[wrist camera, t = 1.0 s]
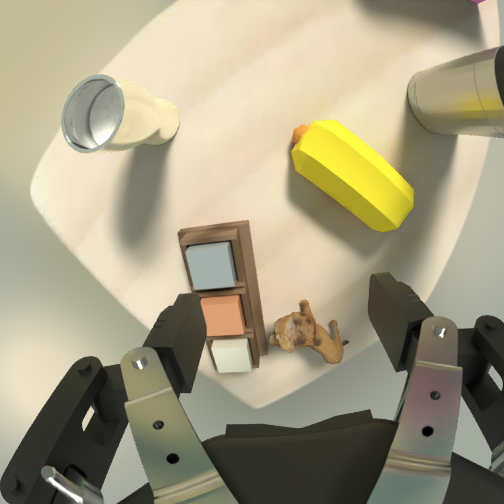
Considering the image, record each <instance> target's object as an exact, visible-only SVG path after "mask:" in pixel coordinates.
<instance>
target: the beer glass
mask: <svg viewBox="0 0 504 504" xmlns="http://www.w3.org/2000/svg"><path fill="white" fill-rule="evenodd" d="M61 122H62V131H63V135H64V137H65V140H66V141H67V143H68V144H69V145H70V146H71V147H72V148H73V149H74V150H76V151H78V152H81V153H112V152H120V151H125V150H128V149H131V148H134V147H136V146H139V145H141V144H143V143H147V144H150V145H160V144H163V143H165V142H167V141H169V140H170V139H171V138H172V137H173V136H174V135H175V133H176V132H177V130H178V127H179V123H180V116H179V112H178V110H177V108H176V107H175V105H174V104H173V103H171V102H170V101H168V100H165V99H155V98H154V97H153V96H152V95H151V94H150V93H149V92H148V91H147V90H146V89H144V88H143V87H141V86H140V85H138V84H136V83H133V82H131V81H128V80H124V79H120V78H116V77H110V76H107V75H94V76H91V77H88V78H86V79H84V80H83V81H82V82H80V83H79V84H78V85H77V86H76V87H75V88H74V89H73V90H72V92H71V93H70V95H69V96H68V98H67V100H66V102H65V105H64V108H63V112H62V121H61Z"/></svg>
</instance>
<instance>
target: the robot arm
mask: <svg viewBox="0 0 504 504" xmlns="http://www.w3.org/2000/svg"><path fill="white" fill-rule="evenodd" d="M408 99H409V103H410V107H411V109H412V112H413V114H414V115H415V117H416V119H417V120H418V121H419V122H420V124H421V125H423V126H424V127H425V128H426V129H428V130H429V131H431V132H434V133H439V134H459V135H475V136H487V137H497V138H504V46H500V47H496V48H492V49H488V50H484V51H481V52H478V53H474V54H471V55H467V56H464V57H461V58H458V59H455V60H452V61H449V62H446V63H443V64H440V65H437V66H434V67H431V68H429V69H426V70H424V71H421V72H418V73H417V74H415V75H414V76H413V77H412V79H411V80H410V83H409V87H408ZM368 314H369V318H370V321H371V323H372V325H373V327H374V329H375V330H376V332H377V334H378V336H379V338H380V340H381V342H382V344H383V346H384V348H385V350H386V352H387V354H388V357H389V358H390V361H391V363H392V365H393V366H394V369H395V371H396V372H399V371H404V370H407V372H408V375H407V379H406V382H405V385H404V389H403V392H402V395H401V399H400V402H399V405H398V408H397V411H396V414H395V417H394V419H393V421H392V420H387V419H377V418H375V419H374V418H373V417H372V414H371V411H370V409H369V410H364V411H360V412H354V413H349V414H344V415H338V416H335V417H332V418H329V419H327V420H324V421H321V422H318V423H315V424H312V425H310V426H307V427H304V428H290V427H282V426H274V425H267V424H232V425H231V424H227V426H226V434H223V435H219V436H216V437H212V438H210V439H207V440H205V441H203V442H201V441H200V439H199V437H198V435H197V434H196V432H195V430H194V428H193V426H192V424H191V423H190V421H189V419H188V417H187V415H186V413H185V411H184V409H183V407H182V405H181V403H180V401H179V396H180V393H191V391H192V387H193V383H194V380H195V376H196V372H197V369H198V365H199V362H200V358H201V354H202V351H203V347H204V344H205V340H206V336H207V326H206V321H205V318H204V314H203V310H202V306H201V302H200V298H199V295H198V294H197V293H186V294H179V295H178V297H177V299H176V301H175V303H174V305H173V306H168V307H167V308H166V309H165V310H164V311H162V312H161V313H160V315H159V317H158V319H157V322H155V324H154V326H153V328H152V329H151V331H150V333H149V335H148V337H147V339H146V340H145V342H144V344H143V346H142V347H139V348H136V349H133V350H131V351H129V352H128V353H127V354H125V356H124V357H123V358H122V360H121V363H120V364H116V365H111V366H105V367H103V365H102V363H101V362H100V360H99V359H98V358H96V357H93V356H89V357H84V358H82V359H80V360H78V361H76V362H75V363H74V364H73V365H72V367H71V368H70V369H69V371H68V372H67V373H66V375H65V376H64V378H63V379H62V380H61V382H60V383H59V385H58V386H57V387H56V389H55V390H54V392H53V393H52V395H51V396H50V398H49V399H48V401H47V402H46V404H45V405H44V407H43V408H42V410H41V411H40V413H39V414H38V416H37V417H36V419H35V420H34V422H33V424H32V425H31V427H30V428H29V430H28V432H27V433H26V435H25V437H24V438H23V440H22V441H21V443H20V445H19V447H18V448H17V450H16V452H15V453H14V455H13V457H12V459H11V461H10V462H9V464H8V466H7V468H6V470H5V472H4V474H3V476H2V478H1V481H0V491H1V494H2V496H3V498H4V499H5V500H6V502H8V503H9V504H104V500H103V495H102V493H101V491H100V490H101V488H102V485H103V483H104V480H105V478H106V475H107V473H108V470H109V468H110V465H111V463H112V460H113V458H114V455H115V452H116V450H117V448H118V446H119V443H120V441H121V438H122V436H123V434H124V432H125V429H126V427H127V425H128V422H129V424H130V427H131V431H132V434H133V438H134V441H135V444H136V447H137V450H138V453H139V456H140V459H141V462H142V465H143V468H144V470H145V473H146V476H147V478H148V481H149V482H148V483H147V484H145V485H144V486H142V487H141V488H139V489H138V490H136V491H135V492H133V493H132V494H131V495H129V496H128V497H126V498H125V499H123V500H122V501H120V502H119V503H117V504H504V323H503V322H502V321H501V320H500V319H498V318H496V317H494V316H489V315H485V316H481V317H479V318H478V319H477V321H476V323H475V326H474V328H469V329H457V326H456V324H455V323H454V322H453V321H452V320H450V319H448V318H445V317H442V316H434V315H433V313H432V312H431V311H430V310H429V309H428V307H426V305H425V304H424V303H423V301H422V300H420V298H419V297H418V296H417V295H416V294H415V292H414V291H413V290H412V289H411V287H410V286H408V285H406V284H404V283H402V282H397V281H396V280H395V279H394V277H393V276H392V275H391V274H390V273H389V272H384V273H377V274H372V275H371V277H370V288H369V300H368ZM491 366H493V367H494V368H495V370H496V371H497V372H498V374H499V375H500V376H501V378H502V381H503V388H502V391H500V389H499V388H498V386H497V385H496V383H495V382H494V381H493V379H492V378H491V376H490V375H489V374H488V372H489V369H490V368H491ZM461 396H462V397H463V399H464V401H465V402H466V404H467V406H468V408H469V409H470V411H471V413H472V415H473V417H474V418H475V420H476V422H477V424H478V426H479V427H480V429H481V431H482V433H483V435H484V437H485V439H486V441H487V443H488V445H489V447H490V449H491V451H492V457H491V465H490V467H489V470H488V469H486V468H484V467H482V466H480V465H478V464H476V463H474V462H472V461H470V460H468V459H466V458H464V457H462V456H460V455H458V454H456V453H454V452H452V450H453V445H454V440H455V435H456V429H457V423H458V416H459V408H460V399H461ZM90 406H91V407H92V408H93V409H94V411H95V412H94V414H93V416H92V418H91V419H90V421H89V423H88V425H87V427H86V429H85V431H83V429H82V421H83V419H84V417H85V415H86V413H87V411H88V410H89V408H90Z"/></svg>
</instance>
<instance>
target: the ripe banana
mask: <svg viewBox="0 0 504 504" xmlns="http://www.w3.org/2000/svg"><path fill="white" fill-rule="evenodd" d="M292 140H293V141H294V142H295V146H294V148H293V149H292V151H291V153H292V157H293V161H294V165H295V169H296V171H297V172H298V173H300V174H301V175H302V176H304V177H305V178H307V179H308V180H309V181H311V182H312V183H313V184H315V185H316V186H317V187H319V188H320V189H322V190H323V191H324V192H326V193H327V194H328V195H329V196H331V197H332V198H333V199H335V200H336V201H337V202H339V203H340V204H341V205H342V206H344V207H345V208H346V209H348V210H349V211H350V212H351V213H353V214H354V215H355V216H356V217H358V218H359V219H360V220H361V221H363V222H364V223H365V224H366V225H367V226H369V227H370V228H371V229H374V230H377V231H379V232H382V233H383V232H387V231H391V230H395V229H398V228H399V226H400V225H401V223H402V222H403V221H404V220H405V218H406V217H407V215H408V214H409V212H410V211H411V210H412V209H413V207H414V189H413V188H412V187H411V186H410V185H409V184H408V183H407V182H406V181H405V179H404V178H403V177H402V176H401V175H400V174H399V173H398V172H397V171H396V170H395V169H394V168H393V167H391V166H390V165H389V164H388V163H387V162H386V161H385V160H384V159H383V158H382V157H381V156H380V155H379V154H378V153H376V152H375V151H374V150H373V149H372V148H370V147H369V146H368V145H367V144H366V143H364V142H363V141H362V140H361V139H359V138H358V137H357V136H356V135H354V134H353V133H352V132H351V131H349V130H348V129H347V128H345V127H344V126H343V125H341V124H340V123H339V122H337V121H335V120H324V121H314V122H312V123H311V124H310V125H309V126H305V125H301V126H300V127H298V128H296V129H294V132H293V138H292Z"/></svg>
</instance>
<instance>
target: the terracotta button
mask: <svg viewBox="0 0 504 504" xmlns="http://www.w3.org/2000/svg"><path fill="white" fill-rule="evenodd" d="M200 302H201V306H202V310H203V314H204V318H205V321H206V326H207V336H223V335H240V334H244V330H245V316H244V311H243V306H242V300H241V295H240V294H234V295H222V296H210V297H202V299H201V301H200Z"/></svg>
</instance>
